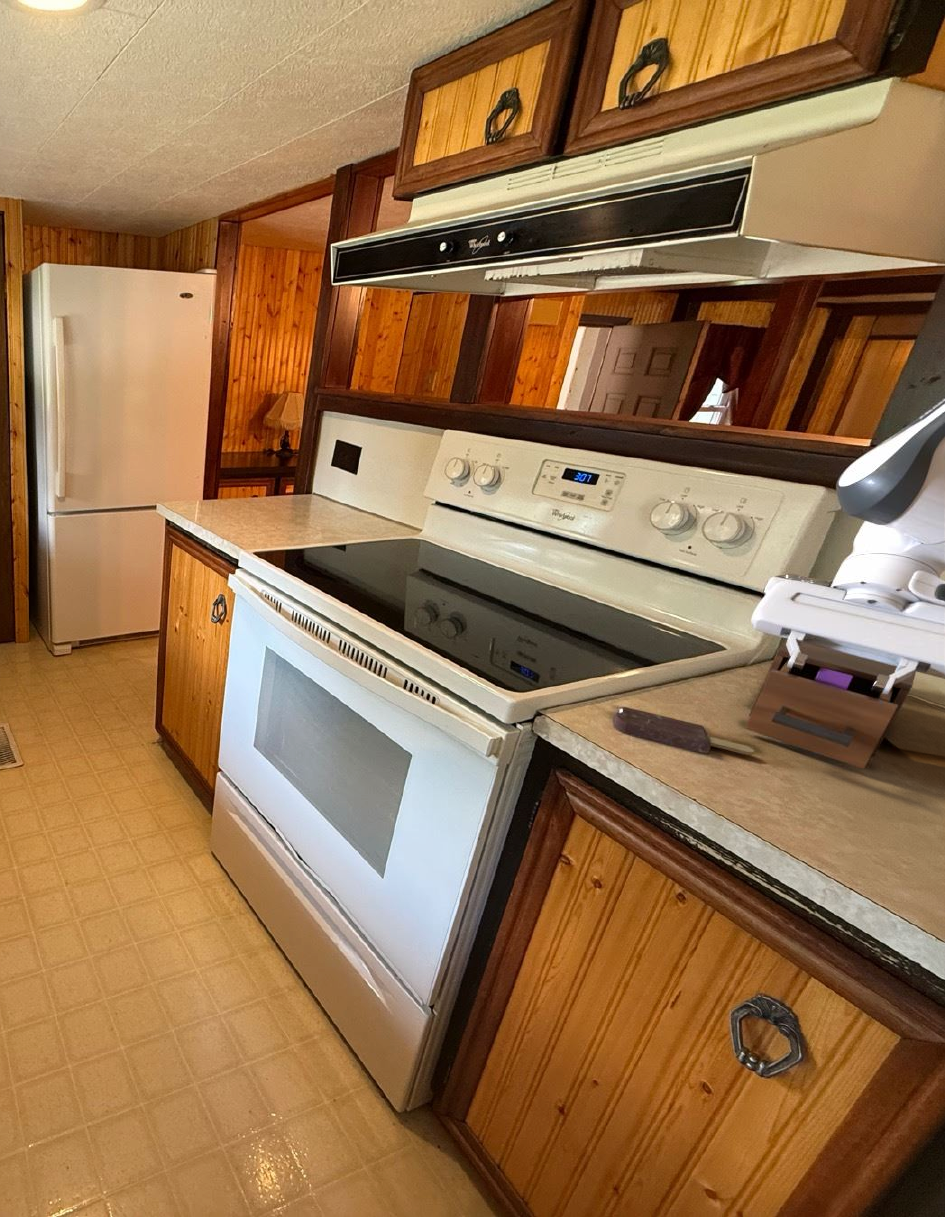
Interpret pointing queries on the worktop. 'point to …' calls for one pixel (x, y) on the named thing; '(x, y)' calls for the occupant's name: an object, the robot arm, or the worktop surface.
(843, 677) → the snack box
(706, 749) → the ice cream bar
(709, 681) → the worktop surface
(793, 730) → the drawer
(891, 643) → the robot arm
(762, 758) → the worktop surface
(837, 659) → the cabinet
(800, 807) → the worktop surface
